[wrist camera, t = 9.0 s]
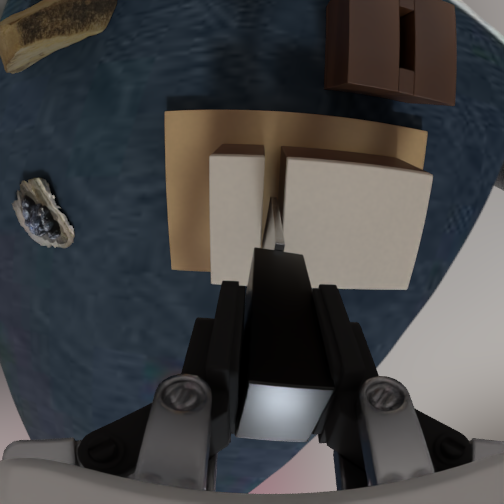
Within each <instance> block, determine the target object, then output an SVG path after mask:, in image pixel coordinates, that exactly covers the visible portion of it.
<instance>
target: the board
mask: <svg viewBox="0 0 504 504" xmlns="http://www.w3.org/2000/svg"><path fill="white" fill-rule="evenodd" d="M427 133H428V132H427V131H423V130H418V129H413V128H408V127H403V126H397V125H392V124H386V123H380V122H374V121H367V120H360V119H353V118H345V117H337V116H328V115H318V114H308V113H295V112H281V111H262V110H175V111H165V165H166V191H167V211H168V227H169V241H170V254H171V265H172V270H188V271H207V272H211V262H210V206H209V156H210V155H211V154H212V153H213V152H214V151H215V150H217V149H218V148H219V147H220V146H221V145H222V144H255V145H264V151H265V168H264V190H263V211H262V231H261V248H262V240H263V235H264V229H265V224H266V219H267V213H268V208H269V202H270V197H271V196H272V197H277V201H278V191H279V174H280V156H281V146H292V147H306V148H318V149H329V150H340V151H349V152H358V153H366V154H374V155H381V156H388V157H395V158H398V159H401V160H403V161H405V162H407V163H409V164H411V165H414V166H416V167H418V168H420V169H422V170H423V165H424V158H425V150H426V142H427Z"/></svg>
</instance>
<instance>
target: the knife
mask: <svg viewBox="0 0 504 504" xmlns="http://www.w3.org/2000/svg"><path fill="white" fill-rule="evenodd" d="M284 248H285V241H284V235H283V229H282V223H281V217H280V212H279V206H278V201H277V197H272V196H271V197H270V202H269V208H268V213H267V219H266V224H265V229H264V235H263V240H262V248H257V247H255V248H254V251H253V257H252V262H251V268H250V274H249V279H248V285H247V291H246V297H245V312H244V337H243V351H242V365H241V379H240V393H239V407H238V418H237V423H236V427H235V436H236V437H242V438H252V439H263V440H277V441H296V442H307V441H308V439H309V438H310V436H311V434H312V432H313V431H314V429H315V427H316V425H317V423H318V422H319V420H320V418H321V416H322V414H323V412H324V410H325V409H326V407H327V405H328V403H329V401H330V399H331V397H332V395H333V393H334V391H335V384H334V380H332V378H331V373H330V369H329V364H328V360H327V355H326V351H325V346H324V342H323V337H322V333H321V329H320V325H319V320H318V316H317V312H316V308H315V304H314V300H313V296H312V287H311V283H310V279H309V275H308V271H307V268H306V264H305V260H304V256H303V255H302V254H295V253H289V252H284Z"/></svg>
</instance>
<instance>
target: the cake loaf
mask: <svg viewBox="0 0 504 504" xmlns="http://www.w3.org/2000/svg"><path fill="white" fill-rule="evenodd" d="M432 180H433V175H432V174H430V173H428V172H426V171H424V170H422V169H420V168H418V167H416V166H414V165H411V164H409V163H407V162H405V161H403V160H401V159H398V158H395V157H388V156H381V155H374V154H366V153H358V152H349V151H340V150H329V149H318V148H306V147H292V146H281V156H280V174H279V191H278V206H279V212H280V217H281V223H282V229H283V235H284V241H285V248H284V252H289V253H295V254H302V255H303V256H304V260H305V264H306V268H307V271H308V275H309V279H310V283H311V287H312V288H318V287H319V285H320V284H332V285H336V286H337V288H338V289H386V290H407V288H408V285H409V282H410V278H411V275H412V271H413V267H414V264H415V260H416V256H417V252H418V248H419V244H420V240H421V235H422V231H423V227H424V222H425V217H426V212H427V207H428V202H429V197H430V192H431V186H432Z"/></svg>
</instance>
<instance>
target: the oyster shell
mask: <svg viewBox="0 0 504 504" xmlns="http://www.w3.org/2000/svg"><path fill="white" fill-rule="evenodd" d="M28 182H29V183H27V182H26V181H22V183H21V184H20V191H18V190H17V191H18V192H17V195H18V196H17V198H18V200H17V201H14V203H12V205H13V209H14V210H15V211H16V215H17V217H18V220H19V222H20V225H21V226H23V227H24V229H26V230H25V231H26V232H28V233H29V234H28V235H30V237H31V238H32V239H33V240H35V241H36V242H37V243H39V244H40V246H46V245H47V247H48V248H49V247H50V246H51V245H52V246H54V247H55V248H56V246H57V247H62V248H67V247H69V246H70V245H71V244H72V243H73V238H74V236H75V235H74V232H73V231H74V228H73V227H72V226H70V225H69V222H68V220H67V218H66V216H65V214H63V213H61V212H60V211H59V210H58V208H61V207H59V206H57V205H56V204H55V201H54V200H53V199H55V196H54V195H52V194H51V191H50V188H49V183H46V179H45V180H44V179H43V178H41V177H39V178H33V179H29V180H28Z"/></svg>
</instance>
